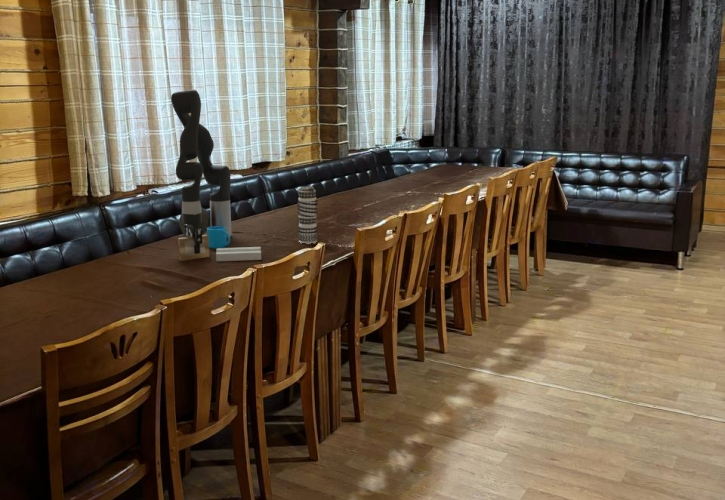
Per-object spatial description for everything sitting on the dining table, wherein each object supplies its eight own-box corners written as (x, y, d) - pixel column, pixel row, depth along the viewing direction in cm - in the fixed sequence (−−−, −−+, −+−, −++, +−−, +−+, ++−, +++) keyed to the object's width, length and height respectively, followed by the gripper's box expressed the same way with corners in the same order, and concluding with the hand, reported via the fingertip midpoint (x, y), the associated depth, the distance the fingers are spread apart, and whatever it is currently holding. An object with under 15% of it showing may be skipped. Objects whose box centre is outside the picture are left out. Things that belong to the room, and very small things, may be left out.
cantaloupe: (173, 239, 308) (171, 207, 304) (194, 234, 320) (192, 203, 317) (196, 243, 302) (195, 210, 298) (217, 237, 314) (215, 205, 310)
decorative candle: (315, 244, 300) (314, 189, 294) (295, 243, 302) (294, 188, 296) (320, 240, 309) (320, 186, 303) (301, 239, 310) (300, 185, 305)
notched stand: (217, 255, 280) (216, 248, 279) (260, 253, 283) (260, 246, 283) (216, 261, 271) (215, 254, 270) (261, 259, 274) (261, 252, 273)
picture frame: (179, 259, 273) (177, 238, 271) (207, 255, 280) (205, 234, 278) (181, 261, 271) (180, 239, 269) (209, 256, 278) (208, 235, 276)
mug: (203, 246, 296) (202, 228, 294) (217, 243, 302) (216, 225, 300) (223, 250, 289) (222, 231, 287) (236, 246, 296) (236, 228, 294)
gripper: (176, 209, 275) (178, 249, 279) (189, 215, 263) (191, 256, 267) (193, 208, 279) (196, 247, 283) (207, 213, 267) (209, 254, 271)
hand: (194, 251), depth 275 cm, fingers open, 6 cm apart
